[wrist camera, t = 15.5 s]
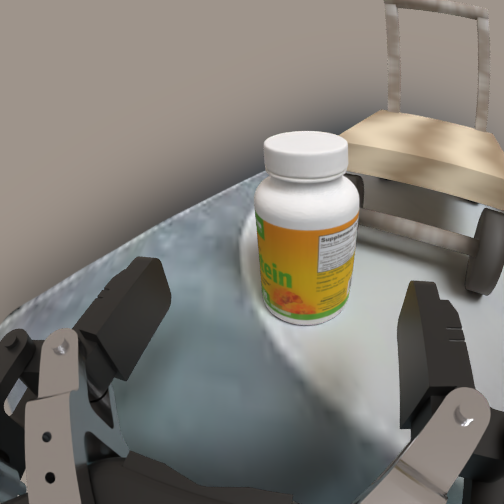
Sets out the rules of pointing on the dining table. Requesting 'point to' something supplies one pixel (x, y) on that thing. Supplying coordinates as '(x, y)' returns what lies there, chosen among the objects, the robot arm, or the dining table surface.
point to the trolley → (436, 156)
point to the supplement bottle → (306, 226)
